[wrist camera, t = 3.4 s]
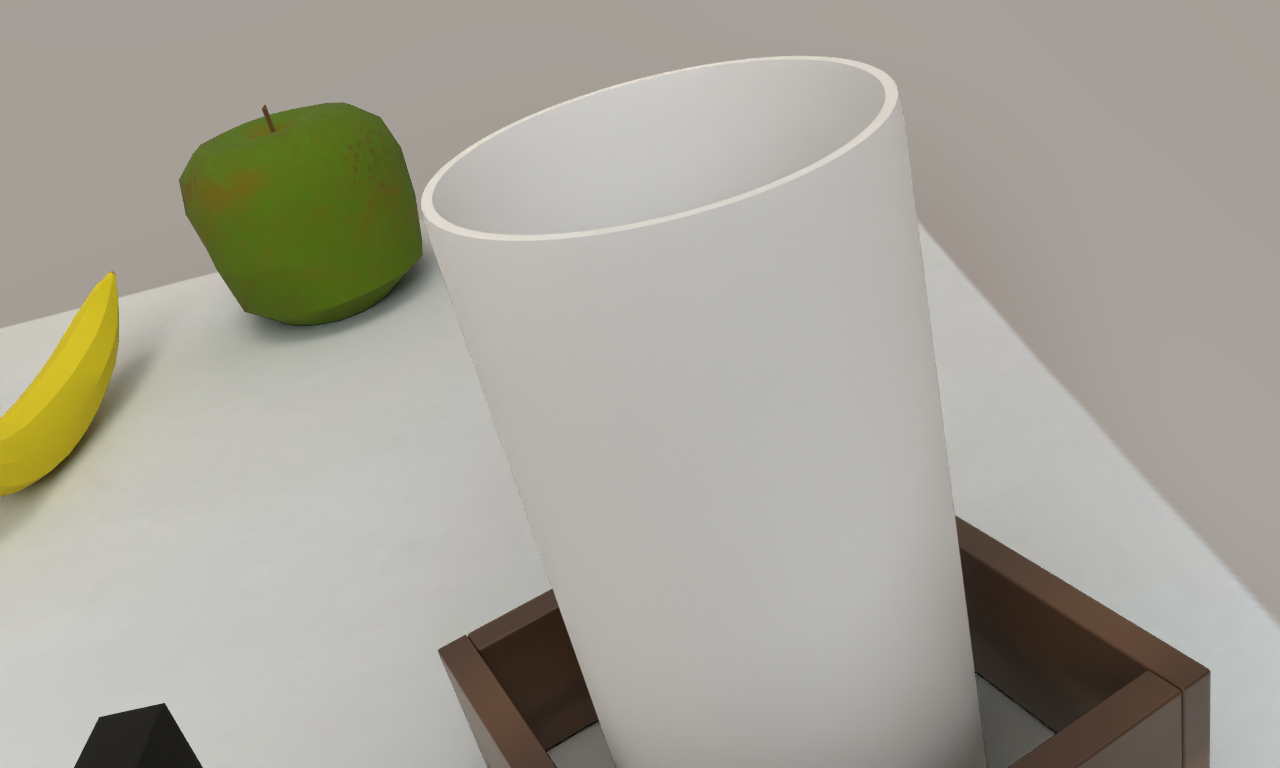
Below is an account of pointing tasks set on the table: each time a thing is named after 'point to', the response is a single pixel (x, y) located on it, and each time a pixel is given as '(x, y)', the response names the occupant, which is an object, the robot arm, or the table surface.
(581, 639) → the cup
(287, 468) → the table surface
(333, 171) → the apple
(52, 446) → the banana
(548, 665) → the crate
